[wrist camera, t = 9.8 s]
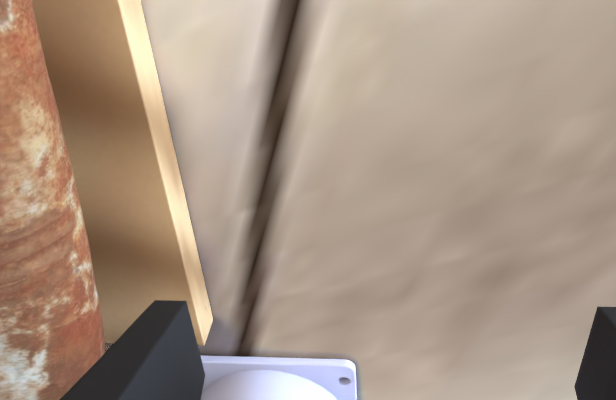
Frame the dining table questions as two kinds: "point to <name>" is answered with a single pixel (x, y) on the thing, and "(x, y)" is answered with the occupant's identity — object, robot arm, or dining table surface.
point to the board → (122, 160)
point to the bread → (39, 230)
